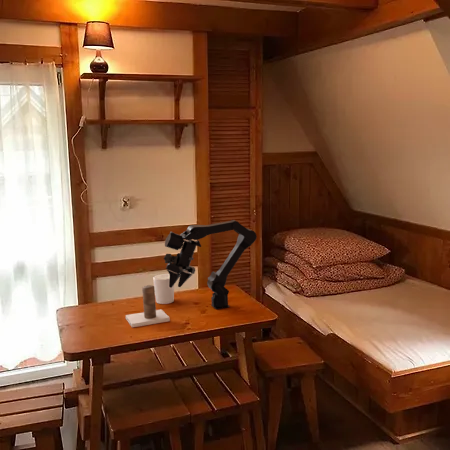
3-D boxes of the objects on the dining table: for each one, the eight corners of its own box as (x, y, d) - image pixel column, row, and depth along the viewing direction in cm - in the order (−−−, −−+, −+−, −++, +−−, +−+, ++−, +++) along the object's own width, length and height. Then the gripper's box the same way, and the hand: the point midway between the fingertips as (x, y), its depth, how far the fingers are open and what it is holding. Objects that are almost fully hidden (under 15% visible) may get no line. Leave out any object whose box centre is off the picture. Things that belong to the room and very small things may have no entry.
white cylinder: (157, 298, 257) (156, 273, 255) (177, 298, 255) (176, 273, 253) (152, 304, 247) (150, 279, 245) (172, 304, 246) (171, 279, 244)
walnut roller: (156, 314, 228) (154, 285, 226) (155, 318, 224) (153, 288, 221) (144, 315, 228) (142, 285, 226) (143, 319, 223) (141, 289, 221)
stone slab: (161, 312, 235) (161, 309, 235) (169, 320, 224) (169, 317, 224) (125, 318, 229) (125, 315, 229) (132, 327, 218) (131, 323, 218)
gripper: (179, 248, 243) (168, 280, 243) (161, 245, 225) (149, 280, 226) (200, 256, 239) (189, 289, 240) (184, 254, 222) (171, 290, 222)
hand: (174, 287), depth 232 cm, fingers open, 9 cm apart
